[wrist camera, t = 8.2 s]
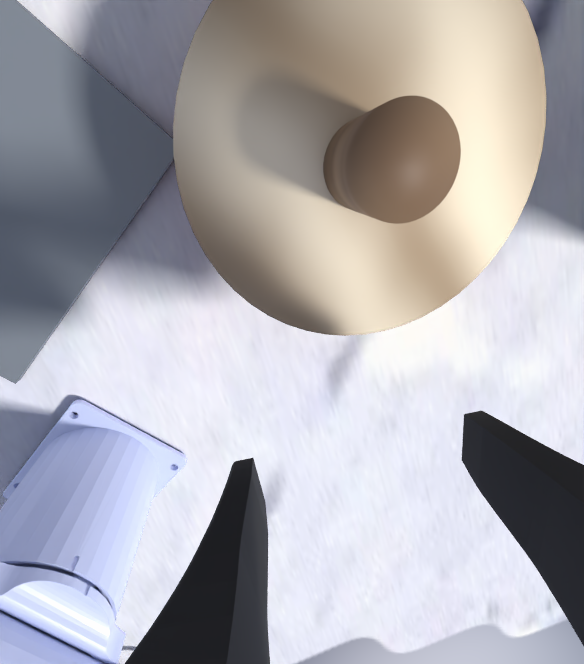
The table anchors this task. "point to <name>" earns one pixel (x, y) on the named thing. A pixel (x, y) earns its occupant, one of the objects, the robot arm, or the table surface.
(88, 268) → the mat
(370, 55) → the lid
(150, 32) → the table surface
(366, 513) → the table surface
